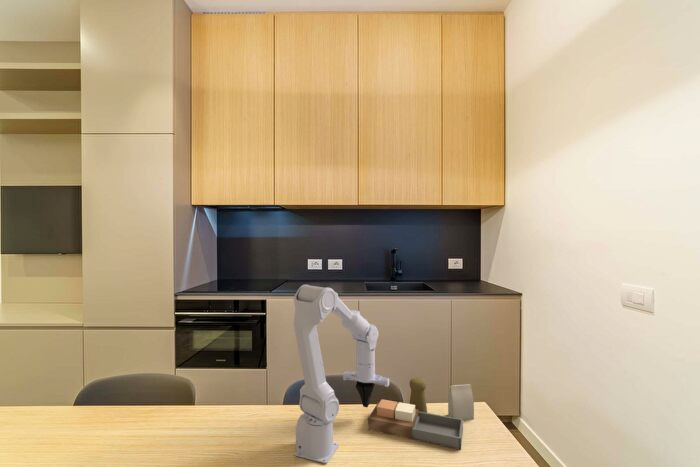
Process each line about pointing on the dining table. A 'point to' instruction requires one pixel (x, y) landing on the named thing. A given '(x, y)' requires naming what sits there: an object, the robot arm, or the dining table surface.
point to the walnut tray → (391, 424)
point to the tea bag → (461, 402)
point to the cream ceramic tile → (405, 412)
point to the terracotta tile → (386, 408)
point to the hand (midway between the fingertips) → (366, 405)
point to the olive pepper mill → (418, 394)
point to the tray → (438, 430)
